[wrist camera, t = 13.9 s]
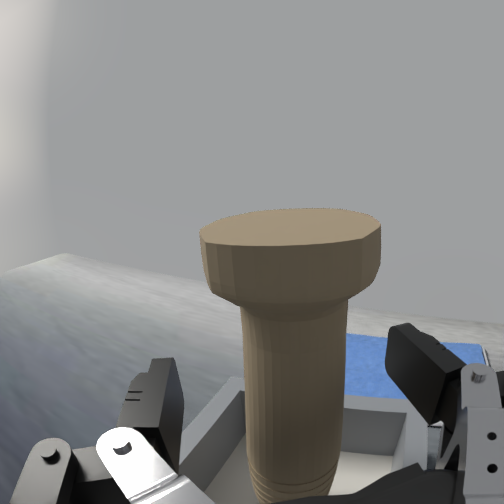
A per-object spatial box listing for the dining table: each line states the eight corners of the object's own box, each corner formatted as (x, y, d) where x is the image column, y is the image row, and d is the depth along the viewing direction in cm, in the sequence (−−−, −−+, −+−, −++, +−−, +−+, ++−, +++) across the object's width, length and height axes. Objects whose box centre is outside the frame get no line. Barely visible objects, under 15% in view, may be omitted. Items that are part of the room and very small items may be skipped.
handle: (337, 467, 15) (359, 207, 11) (333, 556, 9) (406, 243, 5) (257, 465, 16) (235, 211, 12) (234, 550, 10) (161, 248, 6)
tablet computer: (481, 351, 25) (484, 341, 25) (497, 433, 15) (503, 421, 14) (317, 337, 35) (317, 327, 34) (269, 406, 24) (269, 394, 24)
